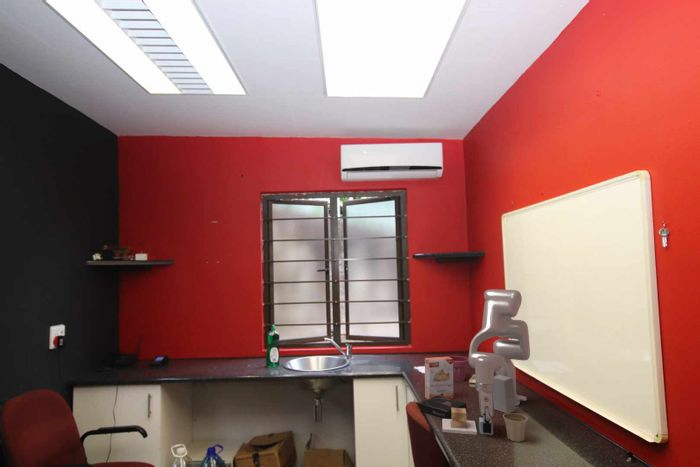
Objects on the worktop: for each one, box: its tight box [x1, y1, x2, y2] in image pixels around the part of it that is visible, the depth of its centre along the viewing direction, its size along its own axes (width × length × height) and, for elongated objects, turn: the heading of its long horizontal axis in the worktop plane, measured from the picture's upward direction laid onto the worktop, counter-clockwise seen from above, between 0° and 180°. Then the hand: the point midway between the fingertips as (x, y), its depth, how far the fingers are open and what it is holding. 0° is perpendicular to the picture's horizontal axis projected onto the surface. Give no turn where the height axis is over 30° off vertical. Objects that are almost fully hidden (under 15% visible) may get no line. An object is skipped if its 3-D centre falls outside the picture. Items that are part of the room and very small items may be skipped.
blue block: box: [478, 416, 494, 436], centre depth 175 cm, size 5×5×5 cm
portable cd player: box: [417, 396, 468, 420], centre depth 201 cm, size 16×17×4 cm
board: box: [441, 418, 478, 436], centre depth 180 cm, size 14×12×1 cm
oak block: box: [451, 408, 467, 428], centre depth 180 cm, size 6×6×6 cm
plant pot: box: [446, 355, 470, 383], centre depth 254 cm, size 14×14×13 cm
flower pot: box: [502, 412, 528, 443], centre depth 168 cm, size 9×9×9 cm
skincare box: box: [492, 375, 517, 414], centre depth 201 cm, size 8×7×16 cm
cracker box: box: [424, 356, 454, 400], centre depth 219 cm, size 14×6×21 cm, turn 105°
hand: (486, 428), depth 175 cm, fingers open, 8 cm apart
